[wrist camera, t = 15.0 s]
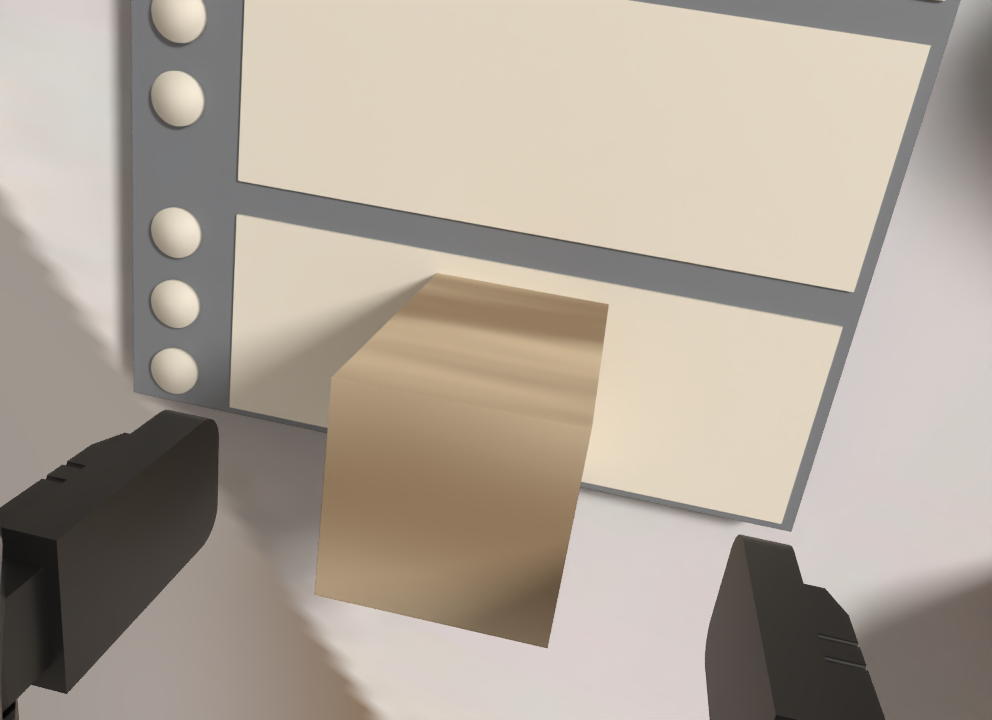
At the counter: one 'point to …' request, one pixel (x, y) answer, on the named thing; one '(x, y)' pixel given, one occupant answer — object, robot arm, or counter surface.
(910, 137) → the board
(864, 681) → the robot arm
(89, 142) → the counter surface
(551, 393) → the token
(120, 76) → the counter surface
